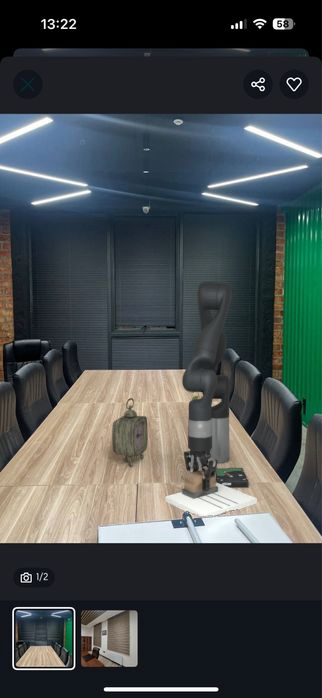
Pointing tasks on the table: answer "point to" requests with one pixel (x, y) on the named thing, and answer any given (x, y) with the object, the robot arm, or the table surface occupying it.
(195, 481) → the sanding block
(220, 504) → the board
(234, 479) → the disk drive
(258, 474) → the table surface
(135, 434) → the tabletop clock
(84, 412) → the table surface
